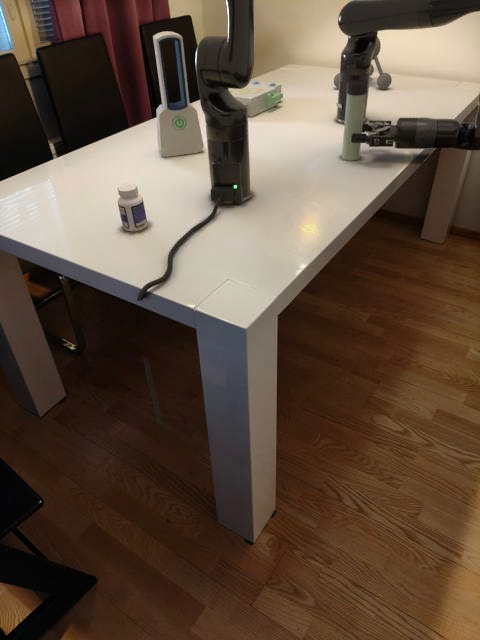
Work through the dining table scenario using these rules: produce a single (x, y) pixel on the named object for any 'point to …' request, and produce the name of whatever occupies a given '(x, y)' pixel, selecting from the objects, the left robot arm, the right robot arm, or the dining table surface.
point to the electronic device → (176, 106)
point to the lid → (357, 87)
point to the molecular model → (383, 79)
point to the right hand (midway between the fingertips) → (351, 132)
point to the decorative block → (258, 96)
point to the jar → (353, 125)
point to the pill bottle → (131, 208)
